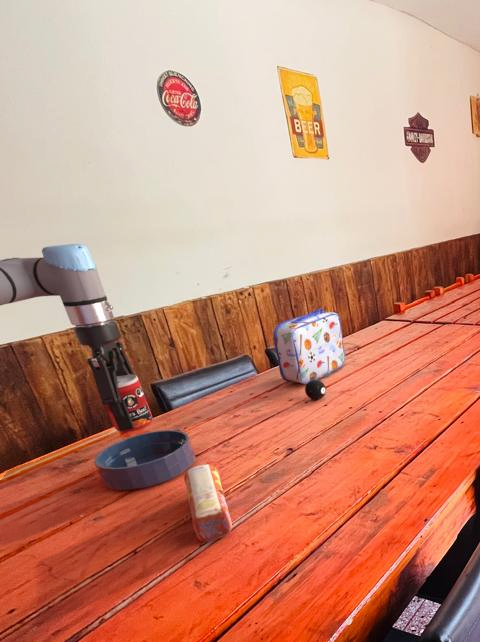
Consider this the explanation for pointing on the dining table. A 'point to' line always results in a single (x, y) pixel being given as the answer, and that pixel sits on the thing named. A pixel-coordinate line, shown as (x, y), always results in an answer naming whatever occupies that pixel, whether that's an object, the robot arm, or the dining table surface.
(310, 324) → the lunch box
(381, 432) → the dining table surface
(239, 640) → the dining table surface
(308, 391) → the billiard ball
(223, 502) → the snack package
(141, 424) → the canned food
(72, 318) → the robot arm
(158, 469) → the bowl
